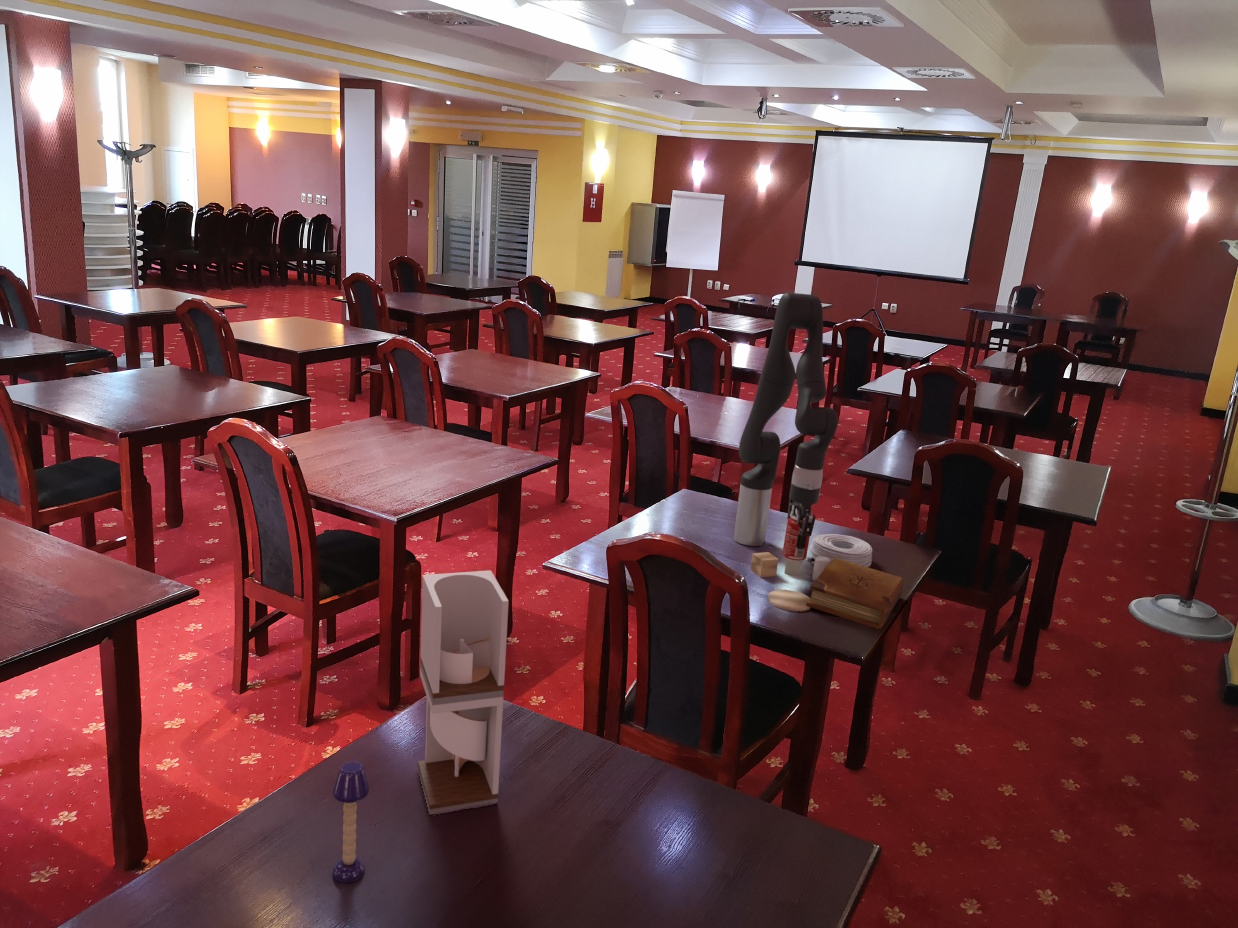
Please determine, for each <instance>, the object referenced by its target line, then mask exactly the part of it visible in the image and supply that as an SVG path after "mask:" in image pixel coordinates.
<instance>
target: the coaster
mask: <svg viewBox="0 0 1238 928" xmlns="http://www.w3.org/2000/svg"><path fill="white" fill-rule="evenodd" d="M810 598H811V597H810V596H808V595H807V594H804V593H802V592H799V591H796V590H791V589H777V590H773V591H770V592H768V597H767V600H768V602H769V604H771V605H772V606H774V607H776V608H778V609H780V608H781V609H780V610H784V611H789V612H799V611H800V612H806V611H809V610H811V609H812V607H809V606H806V605H807V602H808V601H809V599H810ZM800 612H799V613H800Z"/></svg>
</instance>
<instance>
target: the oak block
mask: <svg viewBox="0 0 1238 928" xmlns="http://www.w3.org/2000/svg"><path fill="white" fill-rule="evenodd" d="M778 565H779V558H777V557H776V555H773V554H772V553H770V552H768V551H766V552H756V553H752V555H751V563H750V571H751V572H752V573H753V574H754V575H757V576H758V577H759V578H768V577H770V578H771V577H776V576H777V573H778Z"/></svg>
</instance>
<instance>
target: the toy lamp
mask: <svg viewBox="0 0 1238 928" xmlns="http://www.w3.org/2000/svg"><path fill="white" fill-rule="evenodd" d="M332 789H333V790H332V795H333V797H334V799H335V800H337V801H338V802H341V803H343V807H342V809H343V811H342V812H343V816H342V821H343V825H342V832H343V835H342V842H343V844H342V858H340V859H339V860H338V861H337V862H336V864H335V865H334V867H333V870H332V877H333V879H334V880H336V881H337V882H339V883H342V884H343V883H344V884H348V883H353V882H355V881H358V880H360V879H361V878H362V877H363V876H364V874H365V865H364V863H363V861H362V859H360V858H359V857H357V854H356V849H357V843H356V840H357V832H356V831H357V823H356V821H357V819H358V818H357V817H358V816H357V813H356V812H357V809H358V806H357V802H360V801H362V800H364V799H365V798H366V797H367V796H368V794H369V792H370V791H369V790H370V787H369V782H368V779H367V776H366V772H365V769H364V766H363V765H362V763H360V762H357V761H348V762H345V763H343V764H342V765H341V766H340V767H339V771H338V773H337V777H336V780H335V782H334V786H333V788H332Z"/></svg>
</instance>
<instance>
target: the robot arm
mask: <svg viewBox="0 0 1238 928" xmlns="http://www.w3.org/2000/svg"><path fill="white" fill-rule="evenodd" d="M823 311H824V310H823V304H822V301H821V299H820V297H819V296H818V295H814V294H809V293H808V294H807V293H798V292H797V293H796V292H786V293H783V294H781V297H780V298H779V300H778V303H777V306H776V310H775V315H774V321H773V325H772V330H771V331H772V332H771V338H770V342H769V345H768V346H769V347H768V349H767V353H766V356H765V361H764V364H763V367H762V369H761V373H760V378H759V380H758V384H757V389H756V393H755V397H754V400H753V404H752V408H751V411H750V413H749V416H748V418H747V421H746V424H745V426H744V429H743V431H742V434H741V437H740V439H739V446H738V455H739V458H740V460H741V461H742V462H743V463H745V464H751V465H752V464H754V465H755V464H756V466H755V467H753V468H751V469H750V470H747V471H745V472H743V474H742V475H741V476H740V477H741V478H740V485H739V493H738V500H737V501H738V502H737V510H736V518H735V523H734V533H733V541H735V542H736V543H738V544H741V545H743V546H749V547H750V546H751V547H752V546H753V547H756V546H759V547H760V546H763V545H764V544H765V542H766V535H767V534H766V533H767V528H768V521H769V514H770V513H769V512H770V506H771V499H772V491H773V486H774V485H773V484H774V481H775V479H776V475H777V472H778V471H777V469H778V466H779V460H780V456H781V455H780V454H781V440H780V436H779V435H778V434H777V433H776V432H775V431H764V429H765V427H766V425H767V423H768V422H769V421H770V419H771V418H772V417H773V416H774V415H775V414H776V413H777V412H779V410H780V409H781V408H782V407H783V406H785V404H786V403H787V401H788V400H789V399H790V396H791V393H792V392H793V391H792V390H793V388H794V387H793V386H794V384H795V380H796V385H797V386H796V387H797V395H798V397H797V405H796V412H795V416H794V417H795V418H794V425H795V428H796V430H797V431H798V432H799V434H801V435H806V436H808V435H809V436H814V438H813V439H811V440H808V441H803V442H801V443H800V444H799V445H798V446H797V451H796V457H795V463H794V467H793V470H792V471H793V472H792V475H791V481H790V489H789V494H788V495H789V496H788V497H789V499H788V507H787V508H788V509H787V517H786V519H787V520H788V519H789V518H790V517H791V515H795V516H796V519H797V520H796V523H797V526H799V529H798V538H797V544H796V547H797V548H798V549H804V548H805V544H806V539H807V536H810V537H812V534H813V530H814V527H815V521H816V515H815V514H814V515H812V512H813V510H812V506H813V505H816V504H818V502H819V499H820V494H821V493H820V492H821V486H822V481H823V473H824V472H823V470H824V466H825V458H826V453H827V451H828V448H829V447H830V445H831V442H832V439H833V437H834V436H835V433H836V432H837V429H838V426H839V416H838V413H837V412H836V410H835V409H833V408H832V407H826V406H825V407H823V406H812V404H814V403H818V402H821V401H823V400H824V399H825V398H826V396H827V386H826V379H825V378H826V377H825V372H824V363H823V362H824V361H823V350H824V349H823V345H824V343H823V342H824V313H823ZM791 329H795V330H804V331H805V330H806V333H807V342H806V344H805V348H804V350H803V352H802V354H801V355H800V357H799V360H798V361H797V365H796V367H795V365H794V363H793V362H794V361H793V359H792V356H791V354H790V351H789V347H788V337H789V333H790V331H791ZM800 520H801V521H804V522H803V523H800ZM805 529H806V531H805Z"/></svg>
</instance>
